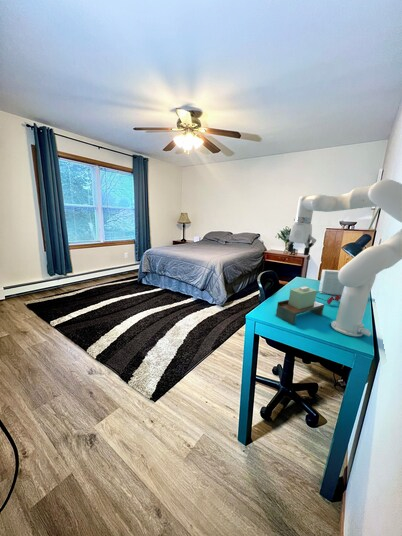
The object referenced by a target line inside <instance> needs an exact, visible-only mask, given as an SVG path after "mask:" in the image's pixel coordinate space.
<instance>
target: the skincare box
mask: <svg viewBox="0 0 402 536" xmlns="http://www.w3.org/2000/svg"><path fill="white" fill-rule="evenodd" d="M339 271H340V270H337V269H322V270H321V274H320V281H319V285H318V292H319V291H322V292H319V293H320V294H322V295H329V294H331V295H334V296H335V295H340V296H342V292H343V289H344V285H342V284H341V283H340V281H339V279H338V273H339ZM323 292H325V293H323ZM326 293H328V294H326Z"/></svg>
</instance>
